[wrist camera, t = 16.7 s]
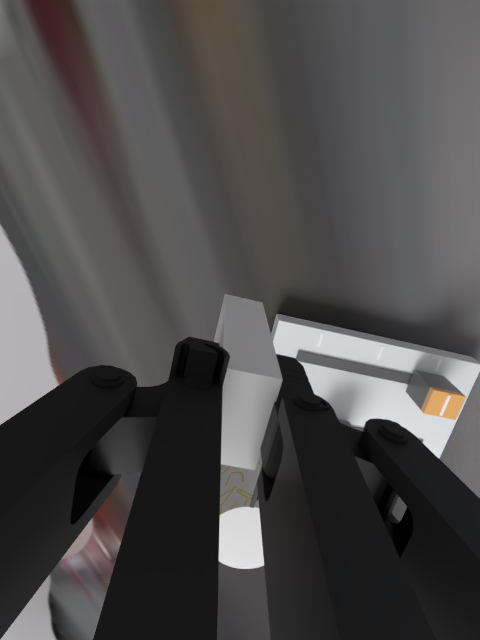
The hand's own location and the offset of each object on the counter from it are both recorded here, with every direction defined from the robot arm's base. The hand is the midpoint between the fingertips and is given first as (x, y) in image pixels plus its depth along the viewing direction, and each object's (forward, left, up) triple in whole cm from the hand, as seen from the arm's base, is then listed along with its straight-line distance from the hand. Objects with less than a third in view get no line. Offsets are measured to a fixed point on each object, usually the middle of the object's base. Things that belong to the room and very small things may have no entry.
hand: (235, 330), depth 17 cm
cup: (+28, +8, -30) cm, 42 cm away
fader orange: (+11, +25, -27) cm, 38 cm away
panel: (+15, +19, -29) cm, 38 cm away
